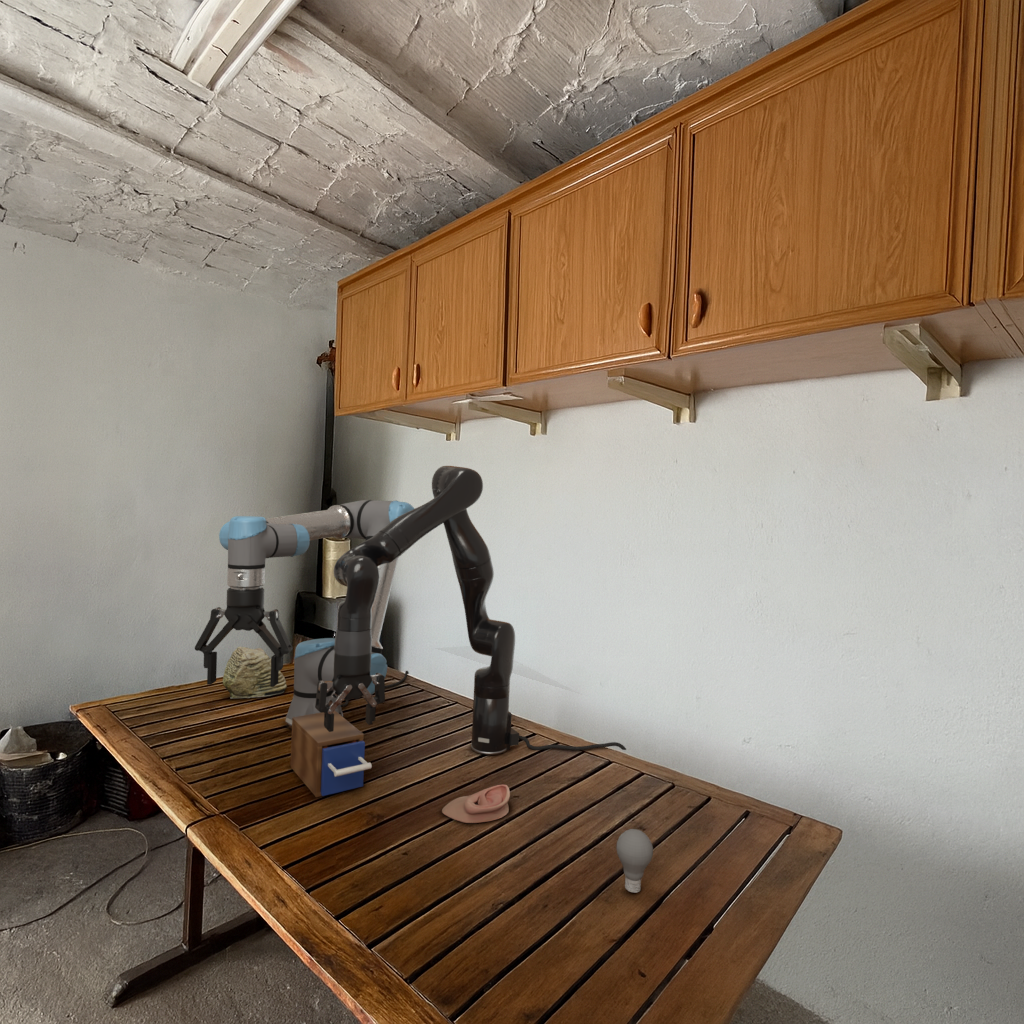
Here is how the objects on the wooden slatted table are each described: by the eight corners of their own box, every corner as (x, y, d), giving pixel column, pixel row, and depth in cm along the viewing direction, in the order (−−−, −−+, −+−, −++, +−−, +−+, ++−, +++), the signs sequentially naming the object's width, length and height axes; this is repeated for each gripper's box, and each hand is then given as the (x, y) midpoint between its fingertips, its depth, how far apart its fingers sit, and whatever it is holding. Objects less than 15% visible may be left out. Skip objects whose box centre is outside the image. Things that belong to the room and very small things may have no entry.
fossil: (218, 695, 195) (220, 647, 195) (278, 685, 208) (279, 640, 207) (228, 703, 189) (230, 653, 188) (289, 692, 201) (290, 645, 201)
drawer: (373, 796, 133) (375, 750, 133) (331, 807, 128) (333, 759, 127) (335, 759, 151) (337, 719, 150) (297, 767, 145) (299, 725, 145)
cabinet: (361, 786, 139) (363, 734, 139) (315, 797, 133) (318, 742, 133) (332, 757, 154) (334, 710, 153) (290, 766, 148) (292, 717, 147)
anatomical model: (437, 799, 126) (454, 775, 137) (436, 818, 126) (453, 793, 138) (502, 808, 124) (514, 783, 135) (501, 828, 124) (513, 801, 135)
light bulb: (610, 879, 108) (613, 822, 108) (644, 879, 109) (647, 822, 109) (619, 902, 102) (622, 840, 102) (655, 901, 103) (658, 840, 103)
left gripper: (179, 587, 134) (176, 687, 134) (297, 591, 134) (294, 691, 135) (196, 582, 141) (193, 676, 142) (308, 586, 142) (305, 680, 142)
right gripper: (325, 657, 125) (322, 739, 125) (392, 650, 133) (389, 726, 134) (313, 649, 131) (310, 727, 131) (377, 643, 139) (374, 716, 140)
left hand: (243, 684), depth 138 cm, fingers open, 13 cm apart
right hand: (349, 727), depth 132 cm, fingers open, 8 cm apart
